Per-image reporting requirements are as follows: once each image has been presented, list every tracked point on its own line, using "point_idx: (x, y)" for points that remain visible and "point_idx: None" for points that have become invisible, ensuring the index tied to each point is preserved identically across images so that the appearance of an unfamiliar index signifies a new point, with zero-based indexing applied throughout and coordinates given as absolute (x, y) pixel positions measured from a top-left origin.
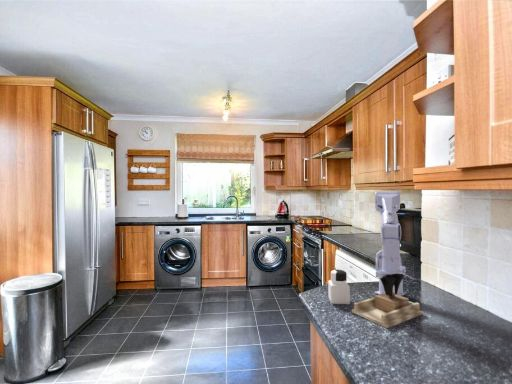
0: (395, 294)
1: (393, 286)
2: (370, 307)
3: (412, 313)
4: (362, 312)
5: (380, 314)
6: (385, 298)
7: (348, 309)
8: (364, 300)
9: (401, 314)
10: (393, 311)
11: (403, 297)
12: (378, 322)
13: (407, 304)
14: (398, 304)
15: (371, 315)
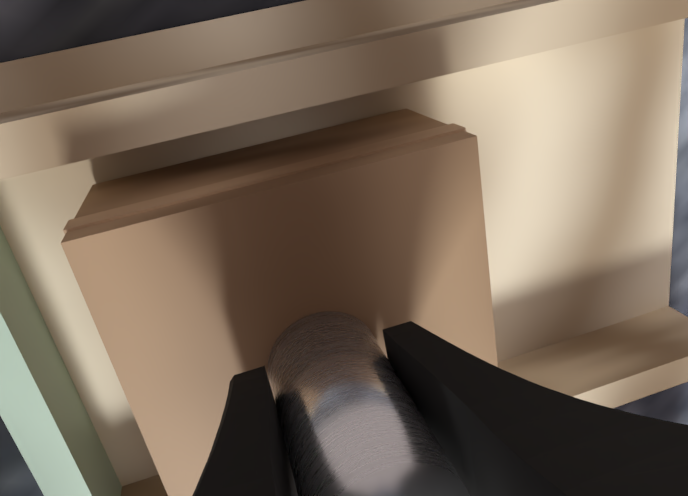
0: (265, 372)
1: (397, 450)
2: None
3: (118, 79)
4: (641, 271)
5: (528, 181)
6: (450, 332)
7: None
8: None
9: (381, 32)
10: (553, 30)
11: (122, 308)
12: (672, 41)
13: (111, 201)
14: (369, 148)
15: (628, 186)
